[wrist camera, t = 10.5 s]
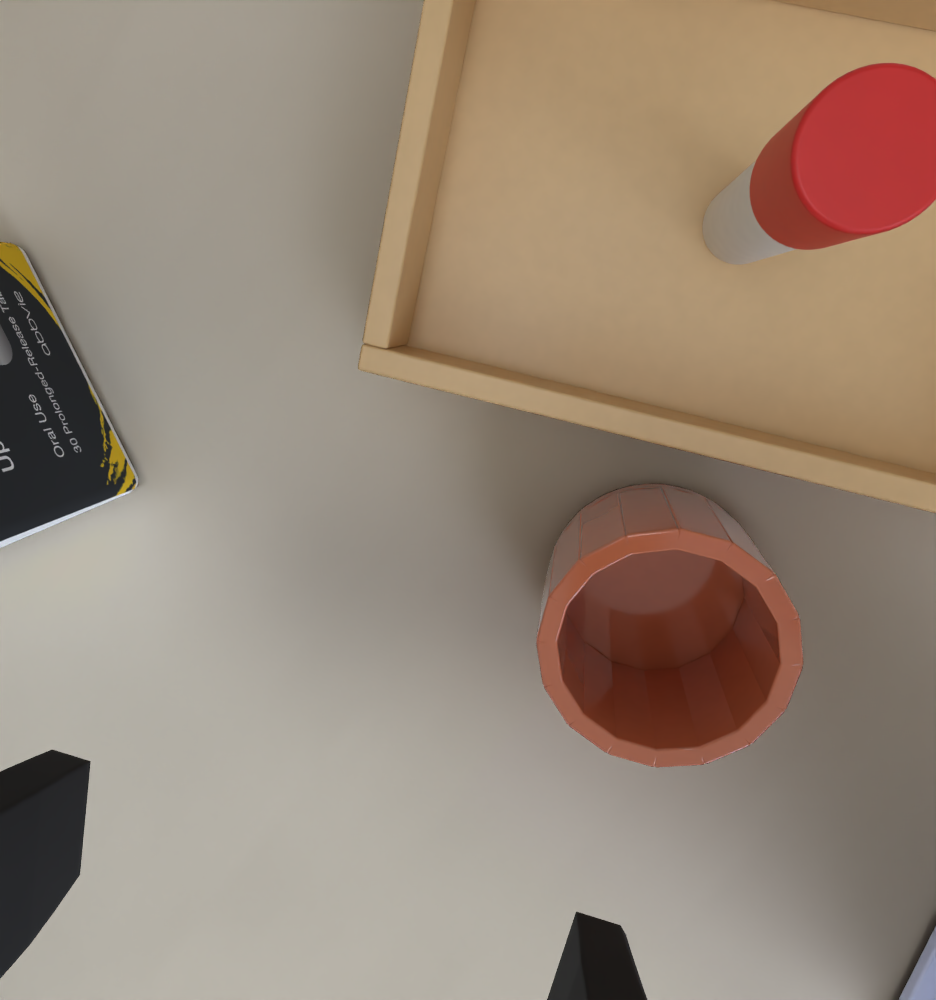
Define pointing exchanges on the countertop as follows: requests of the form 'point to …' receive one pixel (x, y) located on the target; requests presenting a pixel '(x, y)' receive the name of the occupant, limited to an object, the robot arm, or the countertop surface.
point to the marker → (834, 169)
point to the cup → (665, 629)
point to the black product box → (48, 415)
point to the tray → (653, 236)
